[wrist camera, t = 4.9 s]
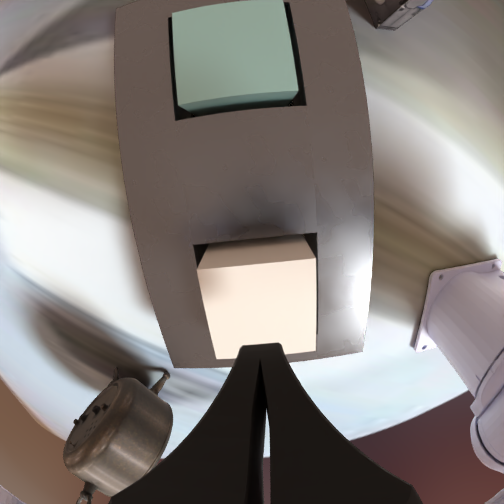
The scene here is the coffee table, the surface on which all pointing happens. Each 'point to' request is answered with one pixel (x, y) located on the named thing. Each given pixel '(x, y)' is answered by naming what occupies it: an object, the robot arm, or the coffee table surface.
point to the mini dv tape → (394, 12)
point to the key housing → (248, 173)
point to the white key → (260, 294)
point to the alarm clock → (118, 436)
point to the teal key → (233, 57)
